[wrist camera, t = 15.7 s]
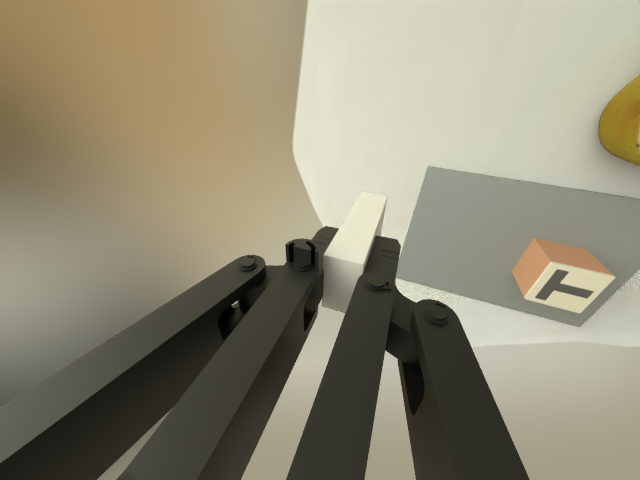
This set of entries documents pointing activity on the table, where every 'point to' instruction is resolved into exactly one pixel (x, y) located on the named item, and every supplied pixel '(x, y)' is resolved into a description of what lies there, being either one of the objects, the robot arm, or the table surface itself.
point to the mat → (512, 236)
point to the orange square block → (560, 275)
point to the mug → (623, 124)
